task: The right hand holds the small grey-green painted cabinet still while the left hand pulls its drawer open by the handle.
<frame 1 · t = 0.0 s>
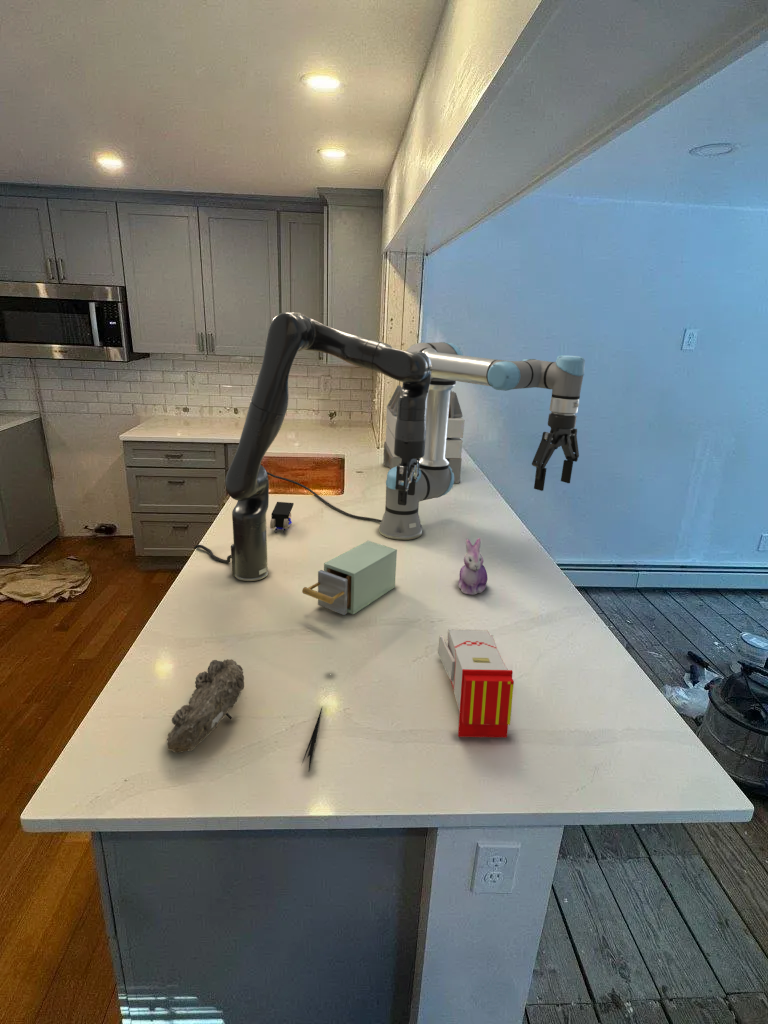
left hand: (406, 499, 144), 29 cm above the counter, tool pointing down, fingers open, 8 cm apart
right hand: (552, 485, 166), 28 cm above the counter, tool pointing down, fingers open, 13 cm apart
drawer: (346, 584, 149), point 6 cm above the counter, slide at 1.9 cm
figurine: (472, 588, 163), on the counter
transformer: (419, 473, 275), on the counter
fossil: (212, 717, 108), on the counter
toy: (469, 691, 119), on the counter
cabinet: (360, 594, 157), on the counter
figurine character: (282, 528, 200), on the counter
feather: (319, 719, 109), on the counter
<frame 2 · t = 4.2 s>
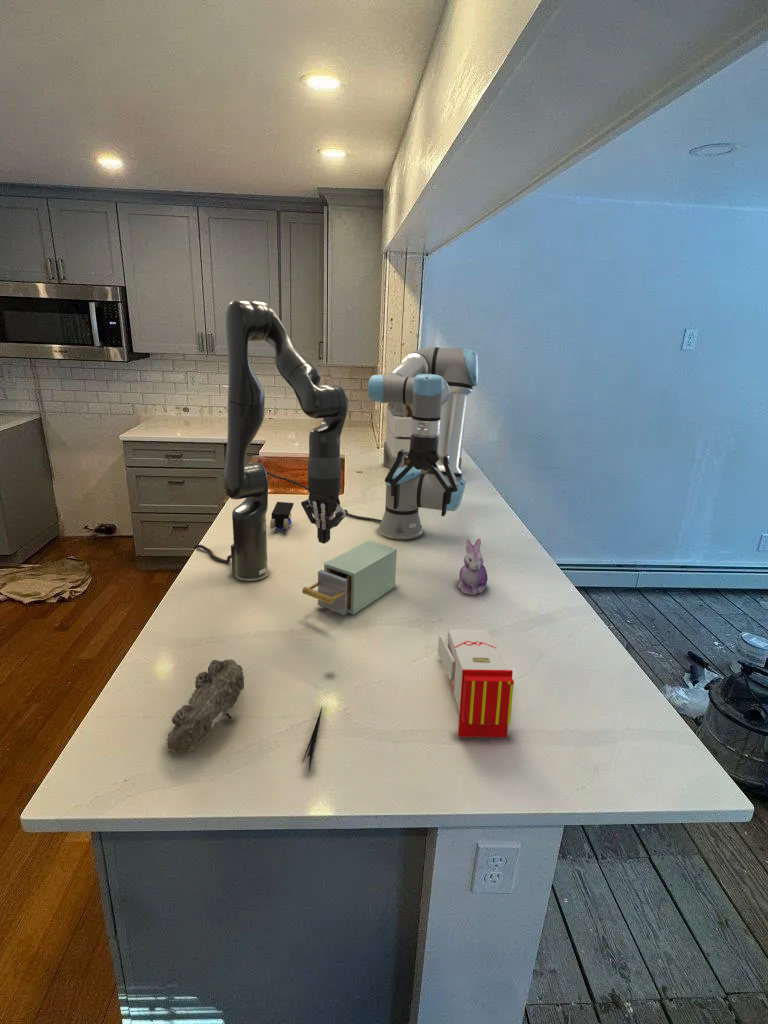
left hand: (323, 542, 137), 21 cm above the counter, tool pointing down, fingers closed
right hand: (419, 511, 156), 23 cm above the counter, tool pointing down, fingers open, 13 cm apart
nothing on the counter moved.
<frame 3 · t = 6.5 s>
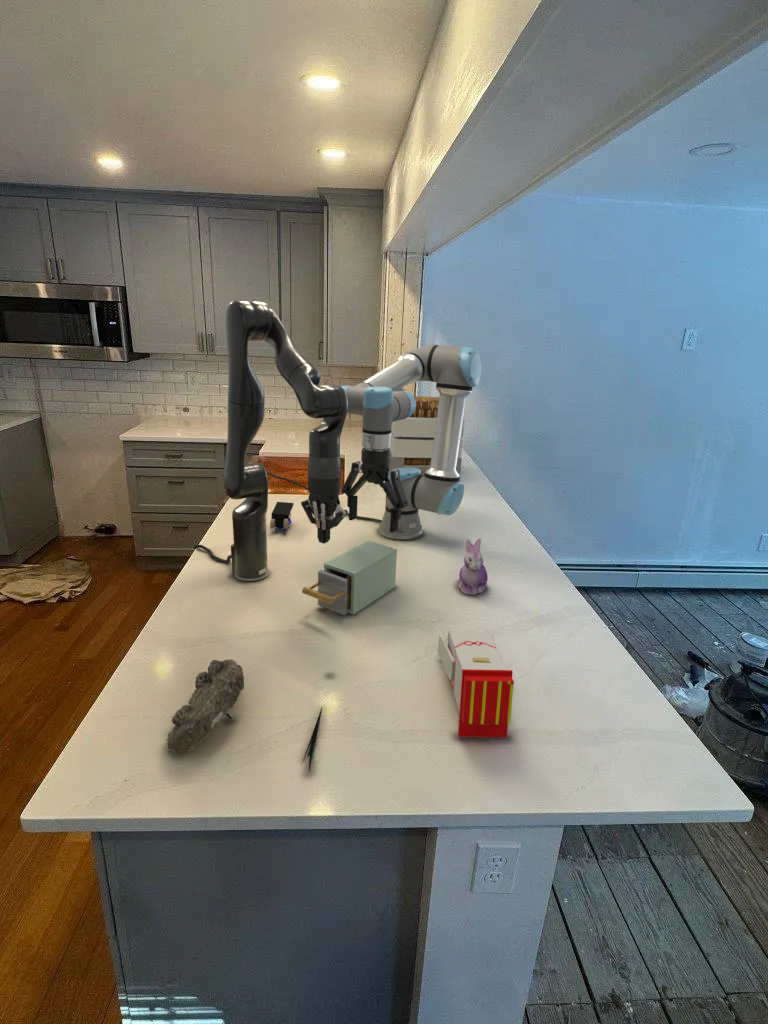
left hand: (323, 542, 137), 21 cm above the counter, tool pointing down, fingers closed
right hand: (372, 524, 154), 19 cm above the counter, tool pointing down, fingers open, 13 cm apart
nothing on the counter moved.
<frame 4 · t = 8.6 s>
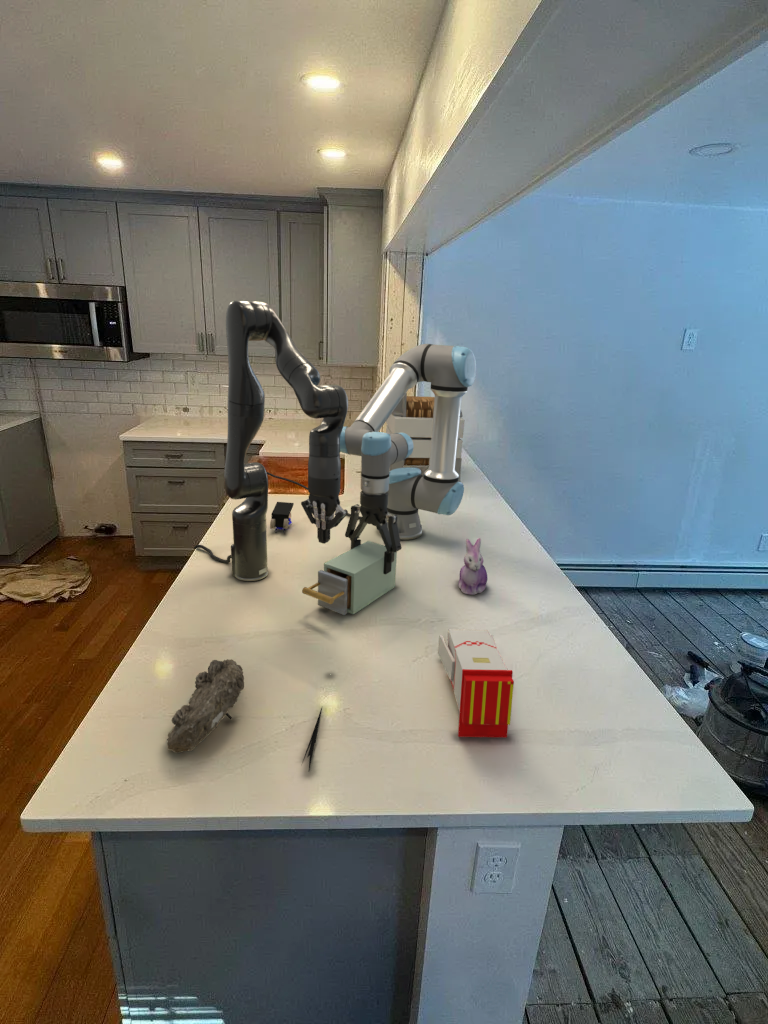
left hand: (323, 542, 137), 21 cm above the counter, tool pointing down, fingers closed
right hand: (371, 567, 158), 7 cm above the counter, tool pointing down, fingers closed on cabinet, 10 cm apart
cabinet: (360, 594, 157), on the counter, touching right hand
everything else where it was.
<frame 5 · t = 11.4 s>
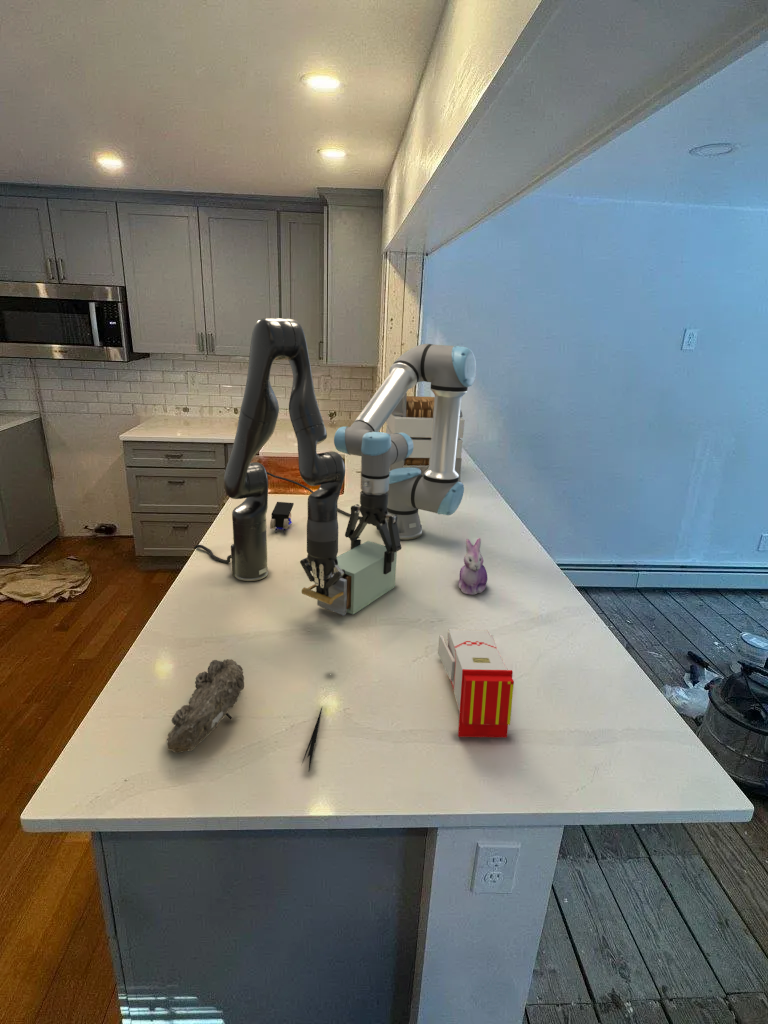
left hand: (322, 598, 142), 6 cm above the counter, tool pointing down, fingers closed
right hand: (371, 567, 158), 7 cm above the counter, tool pointing down, fingers closed on cabinet, 10 cm apart
drawer: (345, 584, 149), point 6 cm above the counter, slide at 2.2 cm, touching left hand
cabinet: (360, 594, 157), on the counter, touching right hand
everything else where it was.
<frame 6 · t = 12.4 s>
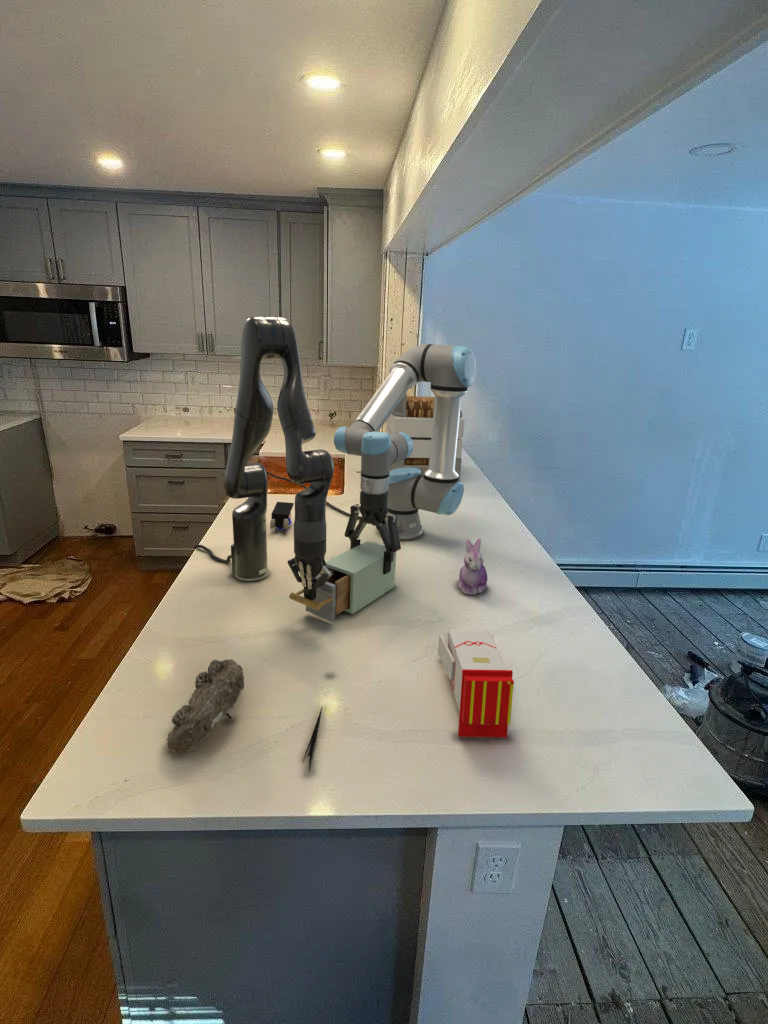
left hand: (310, 599, 138), 7 cm above the counter, tool pointing down, fingers closed
right hand: (371, 567, 158), 7 cm above the counter, tool pointing down, fingers closed on cabinet, 10 cm apart
drawer: (334, 590, 146), point 6 cm above the counter, slide at 6.3 cm, touching left hand
cabinet: (359, 594, 156), on the counter, touching right hand
everything else where it was.
when the right hand's fingers open (7 cm above the counter, at t = 13.8 s): cabinet stays where it is, on the counter.
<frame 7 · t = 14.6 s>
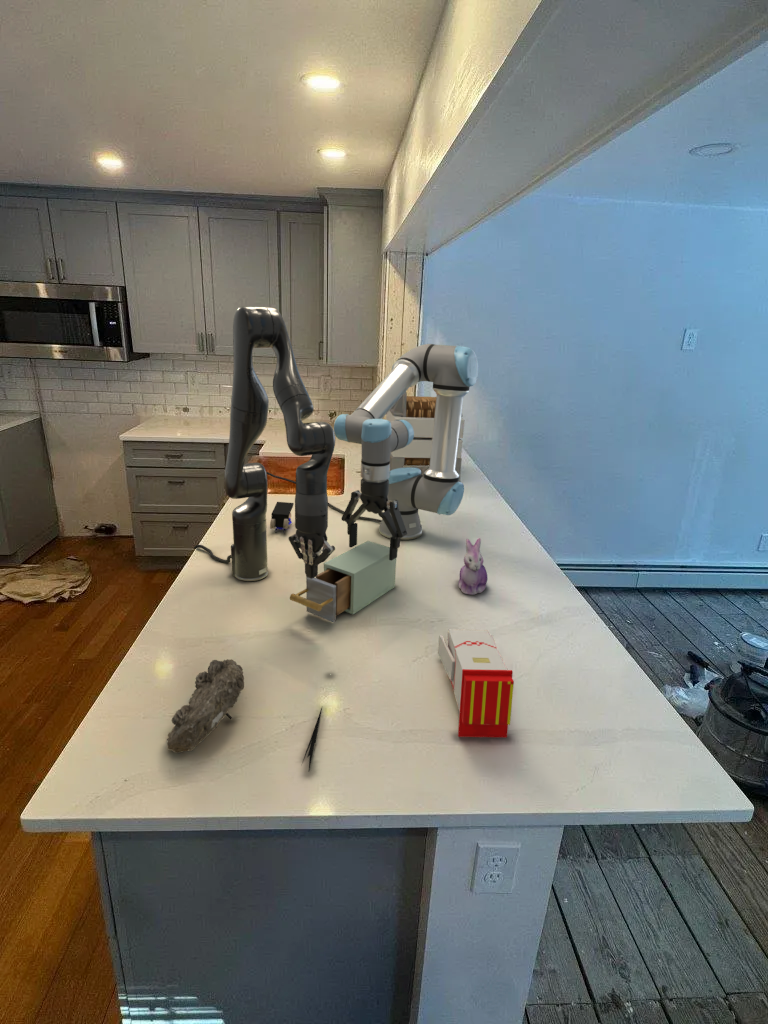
left hand: (311, 576, 136), 13 cm above the counter, tool pointing down, fingers closed
right hand: (372, 552, 157), 11 cm above the counter, tool pointing down, fingers open, 13 cm apart
drawer: (335, 590, 146), point 6 cm above the counter, slide at 6.3 cm
cabinet: (360, 594, 157), on the counter
everything else where it was.
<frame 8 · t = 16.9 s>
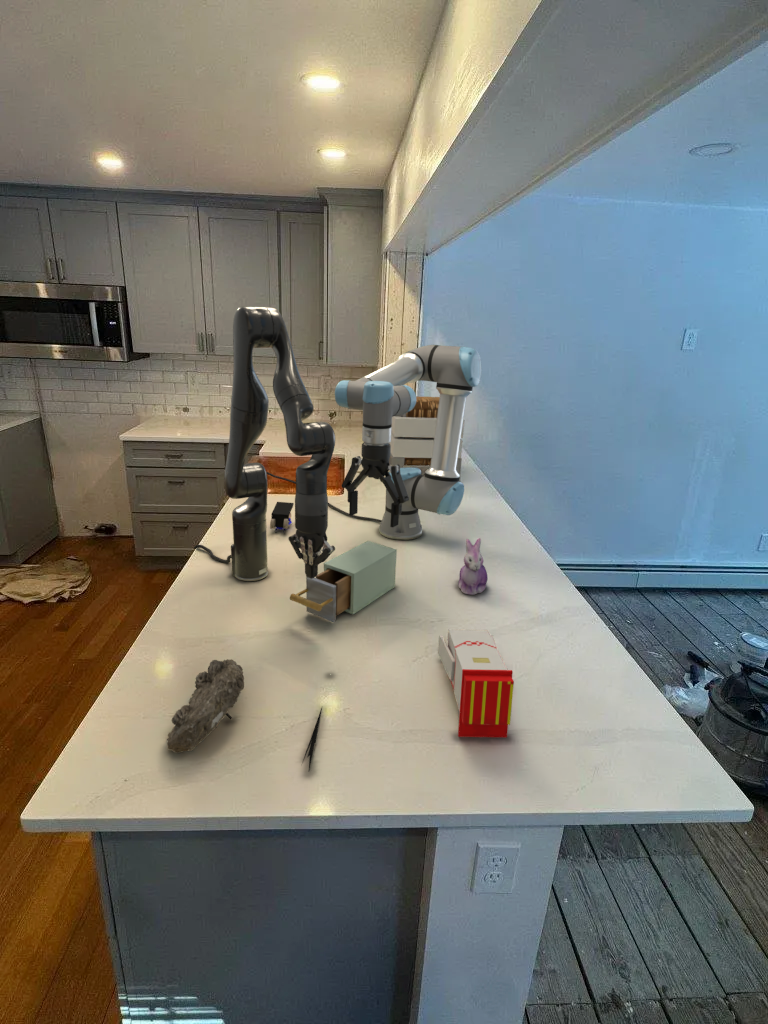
left hand: (311, 576, 136), 13 cm above the counter, tool pointing down, fingers closed
right hand: (373, 519, 153), 21 cm above the counter, tool pointing down, fingers open, 13 cm apart
nothing on the counter moved.
at the end: drawer slide at 6.3 cm; cabinet tilted 0°; cabinet never tilted more than 1° during the clip; cabinet moved 0.1 cm from its start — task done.
